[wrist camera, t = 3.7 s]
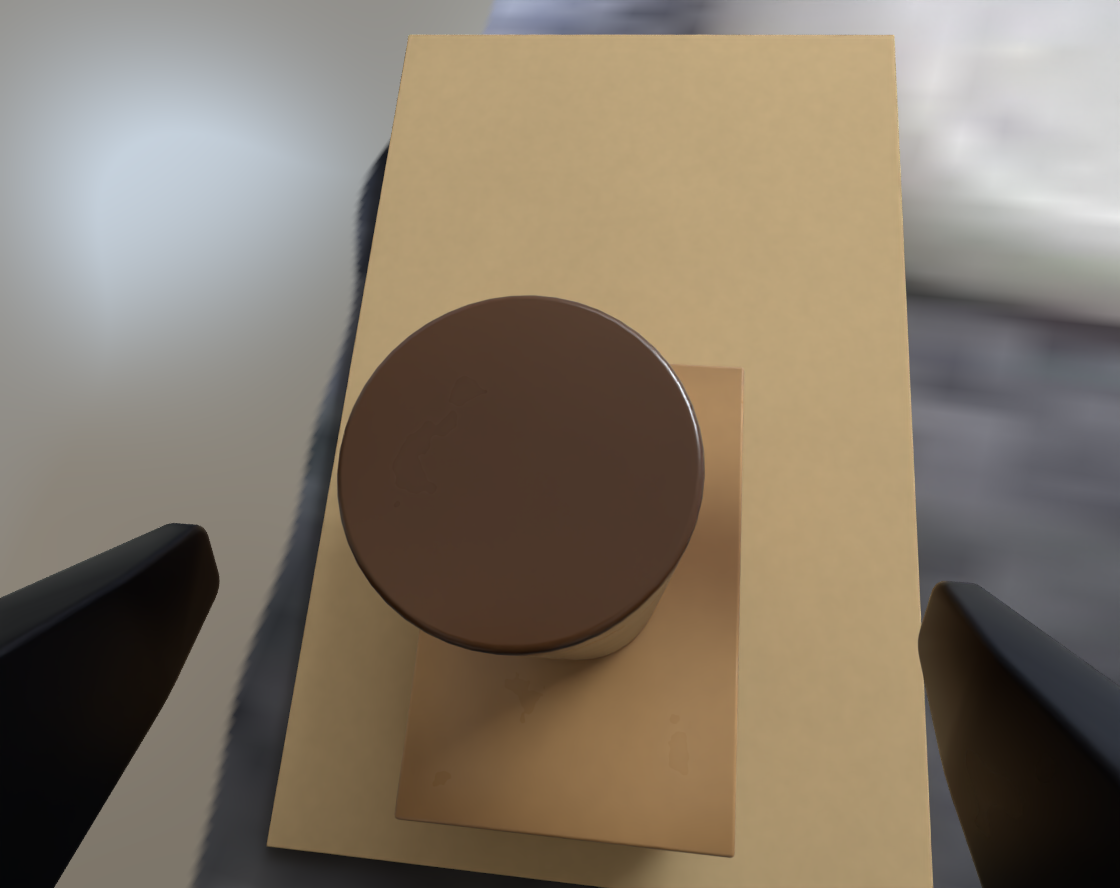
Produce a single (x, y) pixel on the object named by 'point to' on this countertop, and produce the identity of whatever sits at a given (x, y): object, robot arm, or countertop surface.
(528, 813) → the wooden rubber stamp
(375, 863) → the countertop surface
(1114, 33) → the countertop surface
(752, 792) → the cork mat
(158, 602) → the robot arm
